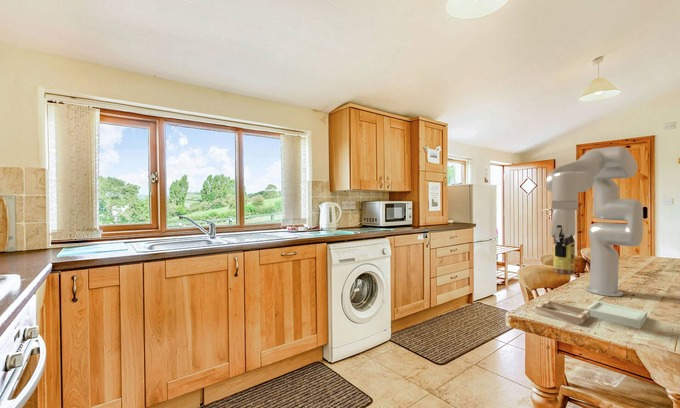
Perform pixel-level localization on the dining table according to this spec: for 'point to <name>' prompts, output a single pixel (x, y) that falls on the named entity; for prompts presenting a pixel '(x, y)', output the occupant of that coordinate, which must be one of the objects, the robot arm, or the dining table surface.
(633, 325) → the shallow square tray
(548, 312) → the tan flat square frame
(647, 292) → the dining table surface
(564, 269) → the sauce bottle
